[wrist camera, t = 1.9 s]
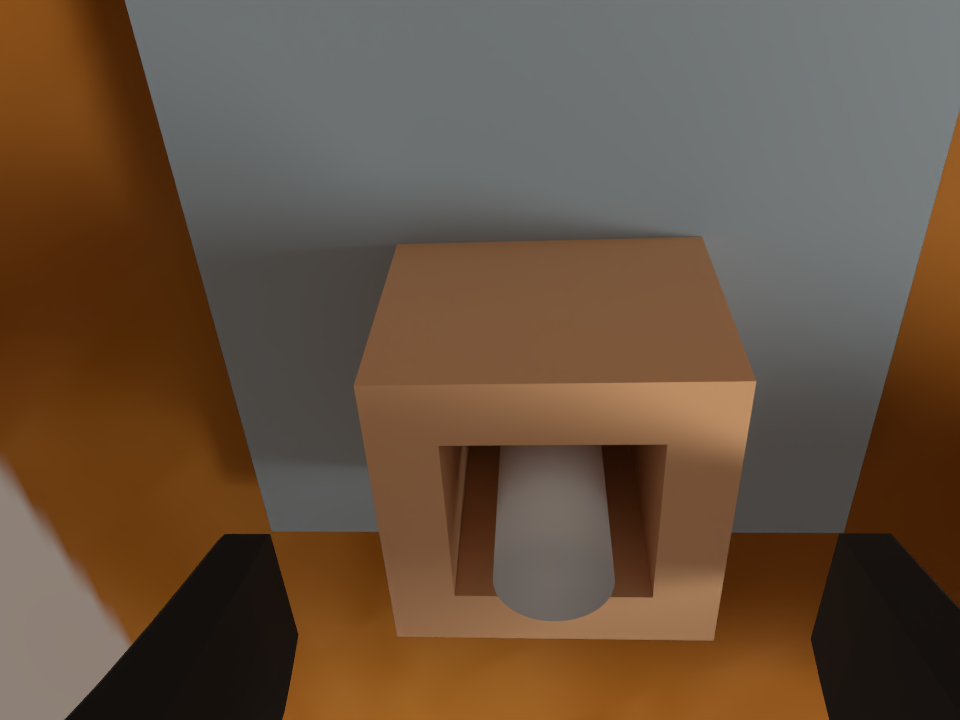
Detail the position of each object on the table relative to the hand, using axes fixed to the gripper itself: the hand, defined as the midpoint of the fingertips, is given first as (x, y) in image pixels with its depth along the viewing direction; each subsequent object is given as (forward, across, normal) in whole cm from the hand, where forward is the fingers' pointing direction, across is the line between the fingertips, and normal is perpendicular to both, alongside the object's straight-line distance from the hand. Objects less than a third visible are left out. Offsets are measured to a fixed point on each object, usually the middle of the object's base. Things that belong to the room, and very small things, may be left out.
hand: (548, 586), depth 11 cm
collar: (+5, 0, 0) cm, 5 cm away
